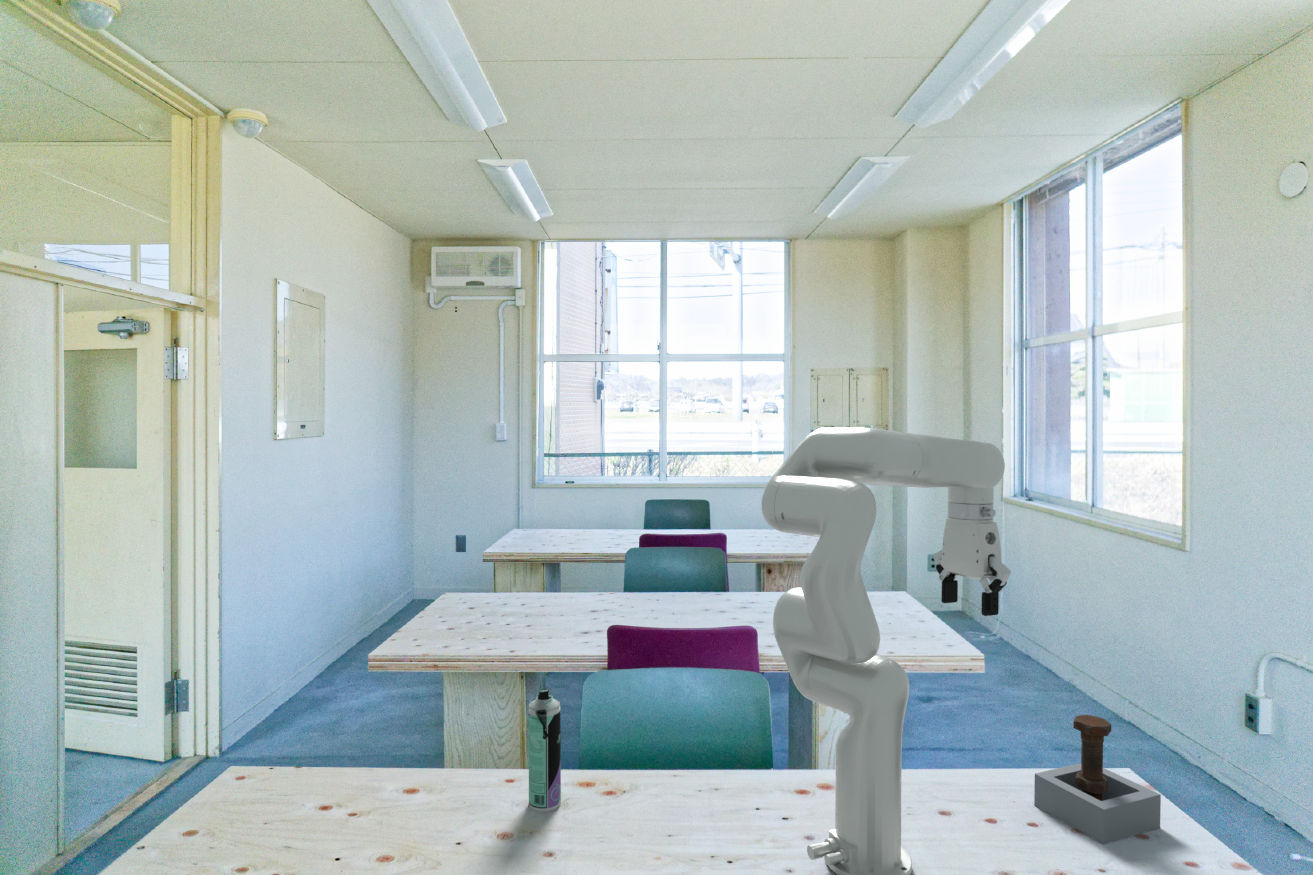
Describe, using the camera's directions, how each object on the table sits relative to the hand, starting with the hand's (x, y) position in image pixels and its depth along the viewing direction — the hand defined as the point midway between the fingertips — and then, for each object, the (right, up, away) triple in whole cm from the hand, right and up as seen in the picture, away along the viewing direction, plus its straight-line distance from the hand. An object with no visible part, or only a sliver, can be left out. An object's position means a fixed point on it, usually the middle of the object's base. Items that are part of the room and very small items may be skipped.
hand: (969, 608), depth 135 cm
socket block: (+18, -33, -8) cm, 39 cm away
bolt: (+18, -32, -7) cm, 38 cm away
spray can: (-75, -33, -4) cm, 82 cm away
